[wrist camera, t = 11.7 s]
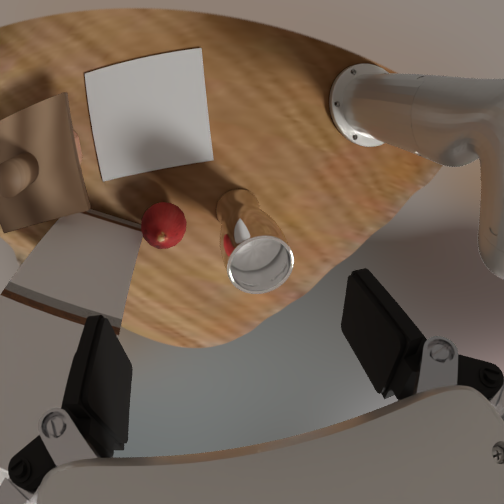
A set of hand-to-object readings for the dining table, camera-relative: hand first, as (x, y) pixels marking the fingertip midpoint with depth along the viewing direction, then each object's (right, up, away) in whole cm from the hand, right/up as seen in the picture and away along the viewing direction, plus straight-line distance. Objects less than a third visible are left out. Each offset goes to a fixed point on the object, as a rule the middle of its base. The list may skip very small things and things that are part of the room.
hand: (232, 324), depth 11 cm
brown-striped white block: (-21, +4, +29) cm, 36 cm away
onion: (-11, +8, +29) cm, 32 cm away
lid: (-25, +13, +15) cm, 32 cm away
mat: (-12, +20, +21) cm, 32 cm away
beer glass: (-1, +9, +31) cm, 32 cm away
